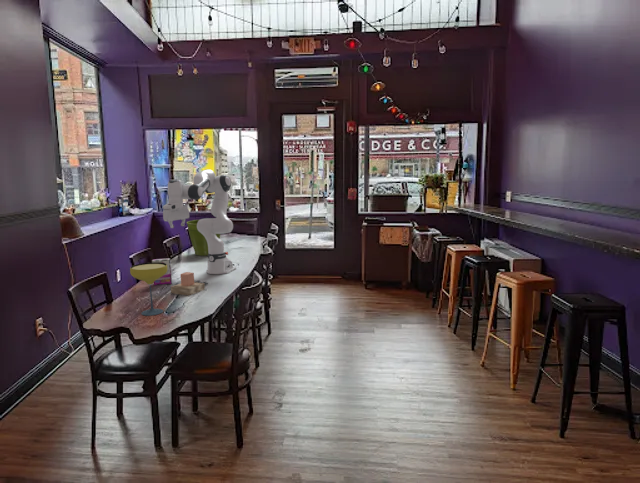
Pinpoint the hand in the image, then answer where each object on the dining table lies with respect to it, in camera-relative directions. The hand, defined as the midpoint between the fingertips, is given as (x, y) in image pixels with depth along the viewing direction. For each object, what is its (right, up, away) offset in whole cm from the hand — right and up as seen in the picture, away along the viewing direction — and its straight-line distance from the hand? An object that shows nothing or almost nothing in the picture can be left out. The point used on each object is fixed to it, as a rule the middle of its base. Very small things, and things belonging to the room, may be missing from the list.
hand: (177, 226), depth 289 cm
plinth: (+11, -40, -14) cm, 43 cm away
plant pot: (-8, -21, +104) cm, 106 cm away
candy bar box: (-11, -37, +5) cm, 39 cm away
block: (+11, -36, -14) cm, 40 cm away
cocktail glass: (+4, -47, -53) cm, 71 cm away
